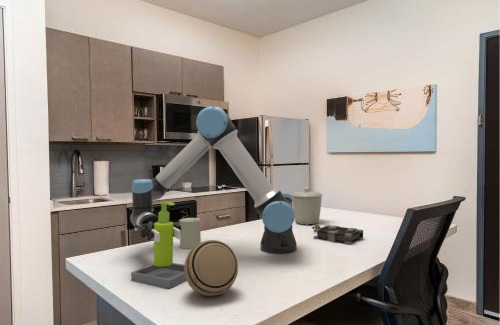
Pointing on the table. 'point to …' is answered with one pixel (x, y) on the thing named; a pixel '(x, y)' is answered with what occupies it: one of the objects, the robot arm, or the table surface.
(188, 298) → the table surface
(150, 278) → the tray
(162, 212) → the soap dispenser
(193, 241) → the can
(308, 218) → the canister
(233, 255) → the tan ball
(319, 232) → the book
